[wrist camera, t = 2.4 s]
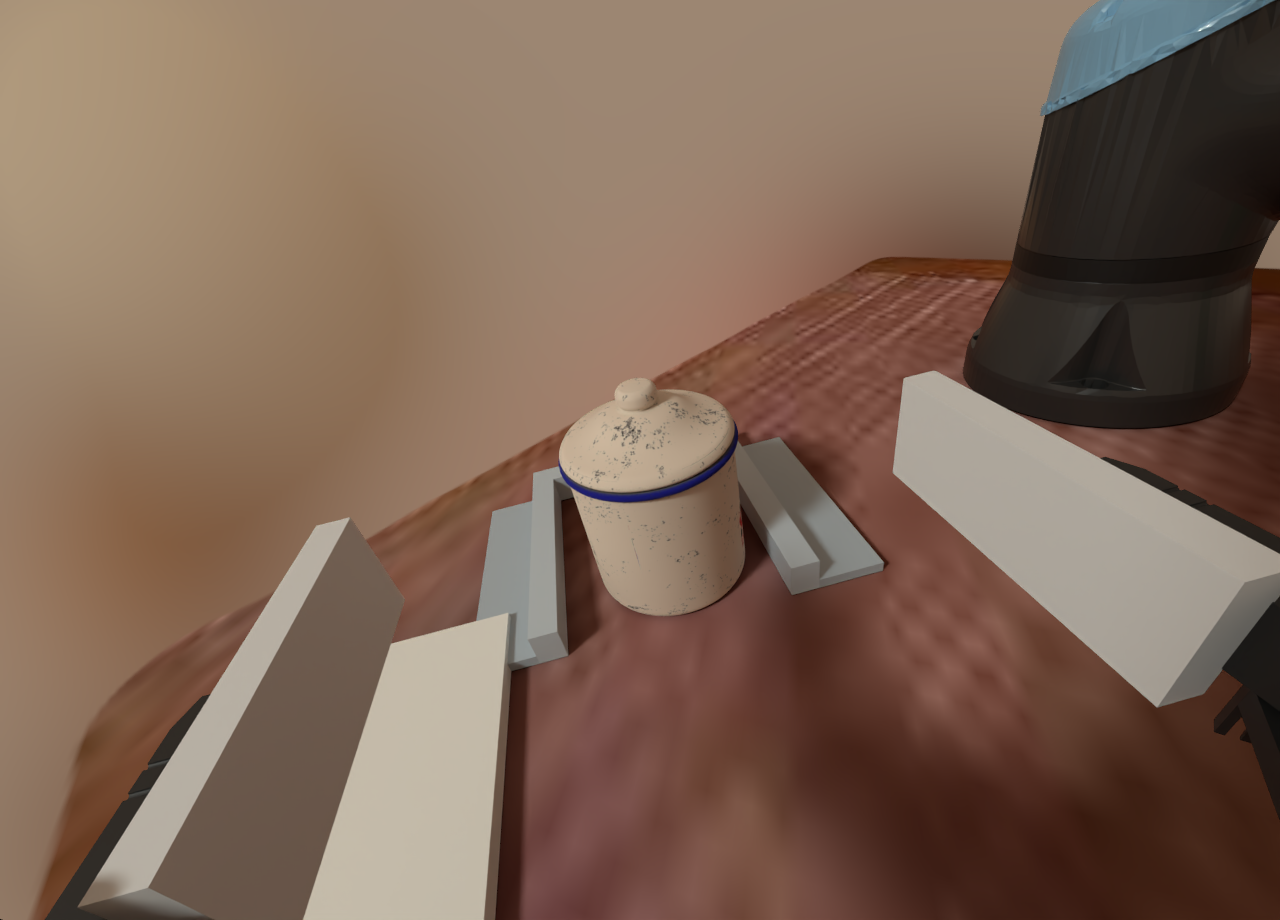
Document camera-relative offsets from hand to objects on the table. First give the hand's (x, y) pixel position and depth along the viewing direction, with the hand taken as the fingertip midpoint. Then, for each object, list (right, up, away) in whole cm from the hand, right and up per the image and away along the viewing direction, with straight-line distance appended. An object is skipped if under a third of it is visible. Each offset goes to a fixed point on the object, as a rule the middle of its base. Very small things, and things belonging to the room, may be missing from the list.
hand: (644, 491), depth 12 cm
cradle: (+1, -4, +20) cm, 20 cm away
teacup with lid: (+1, -5, +19) cm, 19 cm away
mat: (-13, -14, +10) cm, 21 cm away
